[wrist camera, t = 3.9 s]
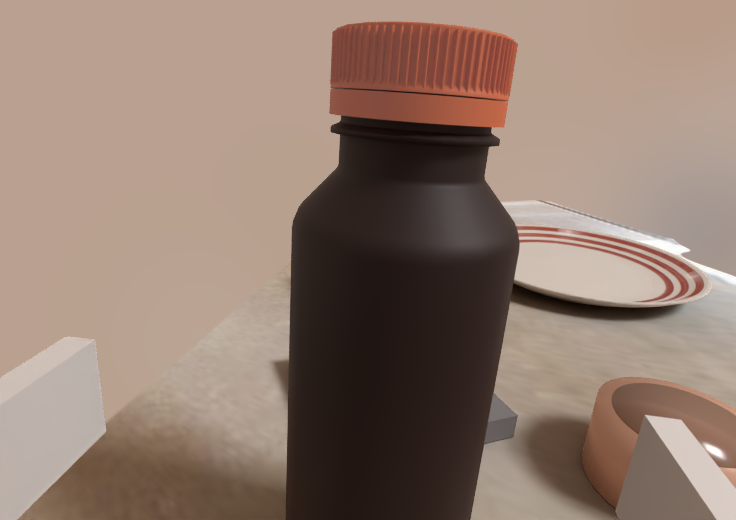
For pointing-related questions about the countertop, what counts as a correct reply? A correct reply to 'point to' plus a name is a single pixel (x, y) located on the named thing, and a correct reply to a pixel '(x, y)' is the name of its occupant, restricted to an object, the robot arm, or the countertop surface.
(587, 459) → the ramekin
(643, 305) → the dinner plate
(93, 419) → the robot arm
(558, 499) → the countertop surface
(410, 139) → the vinegar
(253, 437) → the countertop surface
